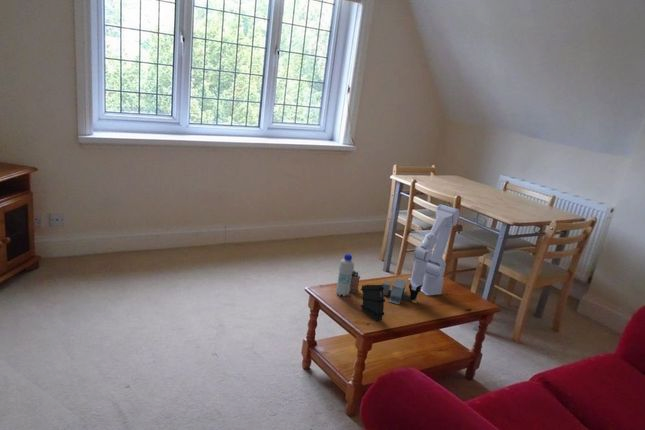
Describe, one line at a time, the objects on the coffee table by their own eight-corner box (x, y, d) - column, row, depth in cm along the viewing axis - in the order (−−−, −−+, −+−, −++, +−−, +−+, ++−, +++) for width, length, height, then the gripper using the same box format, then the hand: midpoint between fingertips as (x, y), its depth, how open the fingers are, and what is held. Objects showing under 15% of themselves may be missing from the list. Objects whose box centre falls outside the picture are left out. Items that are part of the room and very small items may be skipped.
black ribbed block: (381, 321, 201) (377, 285, 202) (362, 320, 212) (357, 285, 213) (388, 320, 203) (383, 284, 205) (368, 318, 214) (364, 284, 215)
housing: (405, 291, 237) (408, 278, 235) (398, 304, 222) (401, 291, 220) (395, 289, 238) (397, 276, 236) (388, 301, 224) (390, 288, 222)
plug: (417, 300, 229) (419, 290, 227) (416, 303, 226) (418, 293, 224) (382, 291, 234) (384, 280, 232) (380, 293, 231) (382, 283, 229)
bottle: (351, 297, 223) (357, 257, 217) (337, 297, 221) (343, 257, 215) (347, 291, 229) (353, 251, 223) (333, 290, 227) (339, 251, 221)
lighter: (358, 289, 232) (361, 270, 229) (357, 292, 229) (361, 273, 226) (341, 286, 233) (344, 267, 230) (340, 289, 230) (344, 270, 227)
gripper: (412, 264, 231) (407, 290, 235) (407, 275, 218) (401, 302, 222) (427, 268, 229) (422, 294, 233) (422, 279, 216) (417, 306, 220)
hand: (413, 298), depth 228 cm, fingers closed on plug, 2 cm apart
